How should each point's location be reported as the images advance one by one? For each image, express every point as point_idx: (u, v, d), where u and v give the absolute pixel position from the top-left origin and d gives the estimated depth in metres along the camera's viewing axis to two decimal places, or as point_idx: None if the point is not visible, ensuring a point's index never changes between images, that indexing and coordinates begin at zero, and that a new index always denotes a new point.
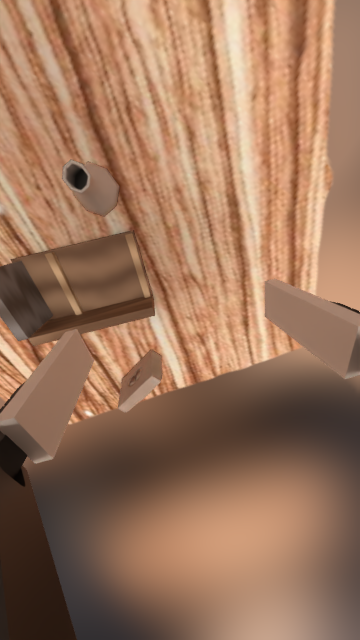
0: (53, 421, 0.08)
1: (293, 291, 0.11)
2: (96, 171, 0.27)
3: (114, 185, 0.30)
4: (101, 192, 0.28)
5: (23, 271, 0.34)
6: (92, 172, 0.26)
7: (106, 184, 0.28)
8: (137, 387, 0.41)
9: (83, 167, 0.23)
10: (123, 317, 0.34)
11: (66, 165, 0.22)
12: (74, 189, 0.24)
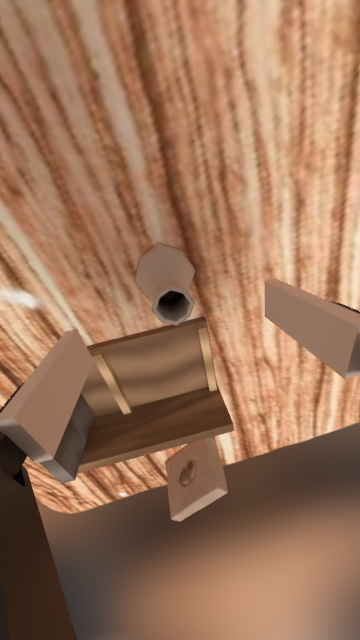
0: (53, 421, 0.08)
1: (293, 291, 0.11)
2: (180, 268, 0.19)
3: (193, 273, 0.22)
4: None
5: None
6: (179, 276, 0.18)
7: (189, 281, 0.20)
8: (197, 496, 0.33)
9: (186, 294, 0.14)
10: (195, 436, 0.26)
11: (161, 294, 0.14)
12: (167, 321, 0.15)
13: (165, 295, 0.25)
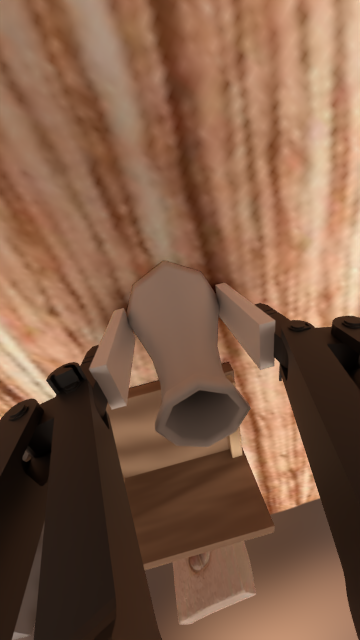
0: (123, 377, 0.10)
1: (231, 294, 0.12)
2: (203, 309, 0.11)
3: None
4: None
5: None
6: (205, 328, 0.10)
7: (217, 326, 0.12)
8: (214, 597, 0.24)
9: (234, 395, 0.06)
10: (217, 544, 0.17)
11: (178, 400, 0.06)
12: (188, 443, 0.07)
13: None
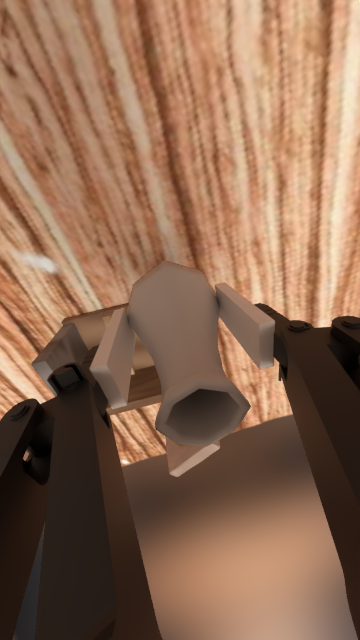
0: (123, 376, 0.10)
1: (231, 294, 0.12)
2: (203, 308, 0.11)
3: None
4: None
5: (76, 335, 0.29)
6: (205, 328, 0.10)
7: (217, 326, 0.12)
8: (192, 452, 0.36)
9: (234, 393, 0.06)
10: None
11: (179, 398, 0.06)
12: (188, 442, 0.07)
13: None
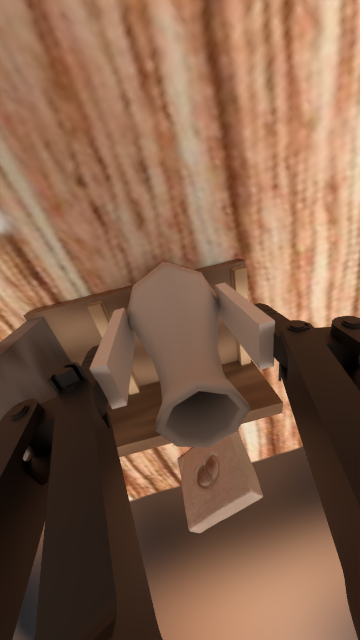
0: (123, 376, 0.10)
1: (231, 294, 0.12)
2: (203, 309, 0.11)
3: None
4: None
5: (47, 336, 0.18)
6: (205, 329, 0.10)
7: (217, 327, 0.12)
8: (222, 502, 0.26)
9: (234, 396, 0.06)
10: None
11: (178, 401, 0.06)
12: (188, 444, 0.07)
13: None
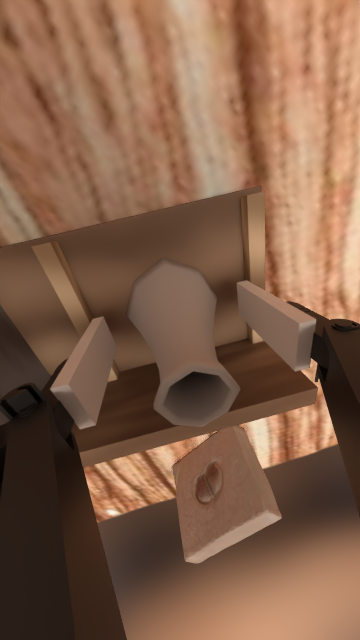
0: (93, 393, 0.09)
1: (257, 292, 0.12)
2: (199, 303, 0.12)
3: None
4: None
5: None
6: (201, 321, 0.10)
7: (213, 320, 0.13)
8: (228, 524, 0.20)
9: (225, 377, 0.07)
10: (241, 413, 0.13)
11: (174, 380, 0.07)
12: (183, 422, 0.08)
13: None
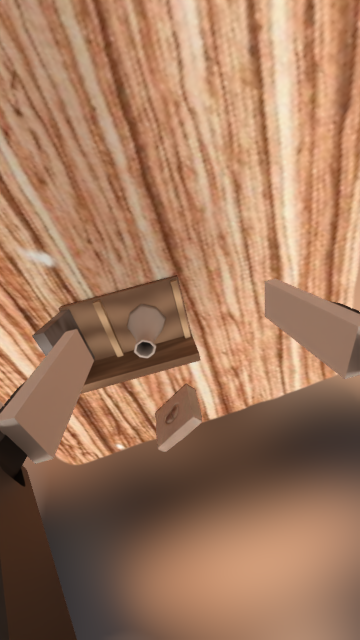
0: (53, 421, 0.08)
1: (293, 291, 0.11)
2: (152, 322, 0.33)
3: (163, 321, 0.36)
4: (155, 336, 0.33)
5: (71, 319, 0.34)
6: (151, 329, 0.32)
7: (159, 328, 0.34)
8: (177, 427, 0.40)
9: (151, 343, 0.28)
10: (170, 363, 0.34)
11: (138, 343, 0.28)
12: (142, 356, 0.29)
13: None
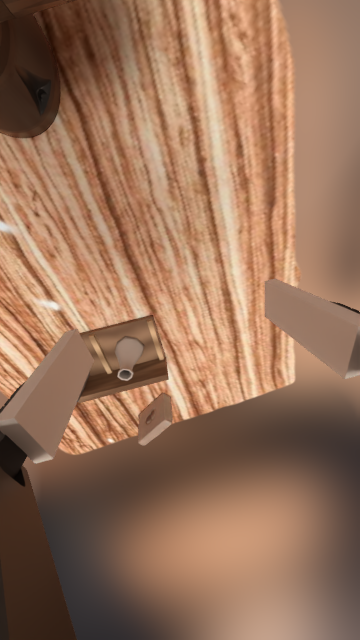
0: (53, 421, 0.08)
1: (293, 291, 0.11)
2: (132, 352, 0.45)
3: (142, 349, 0.48)
4: (135, 362, 0.45)
5: None
6: (131, 357, 0.43)
7: (138, 355, 0.46)
8: (153, 427, 0.53)
9: (129, 370, 0.40)
10: (145, 381, 0.46)
11: (120, 371, 0.40)
12: (123, 379, 0.41)
13: None
